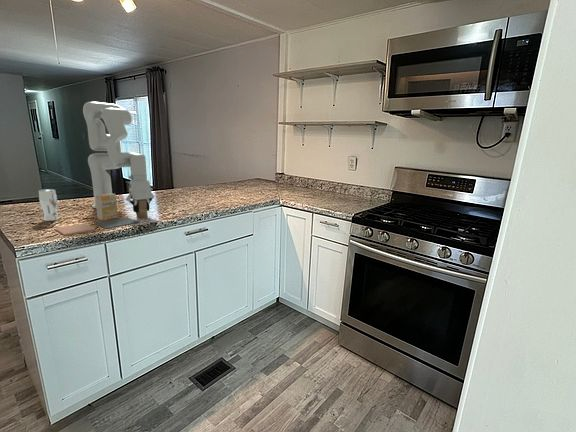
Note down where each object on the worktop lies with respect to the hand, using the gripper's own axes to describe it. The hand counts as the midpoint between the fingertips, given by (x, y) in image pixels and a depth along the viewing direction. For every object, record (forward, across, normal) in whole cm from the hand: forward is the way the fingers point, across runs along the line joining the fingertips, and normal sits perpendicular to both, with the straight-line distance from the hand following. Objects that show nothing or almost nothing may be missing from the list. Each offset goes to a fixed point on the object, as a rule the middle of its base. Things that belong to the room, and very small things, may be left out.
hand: (141, 211), depth 166 cm
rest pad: (+3, -32, -2) cm, 32 cm away
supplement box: (+4, -14, +8) cm, 17 cm away
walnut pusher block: (+4, 0, 0) cm, 4 cm away
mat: (+3, -14, -2) cm, 15 cm away
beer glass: (+4, -34, +25) cm, 42 cm away
